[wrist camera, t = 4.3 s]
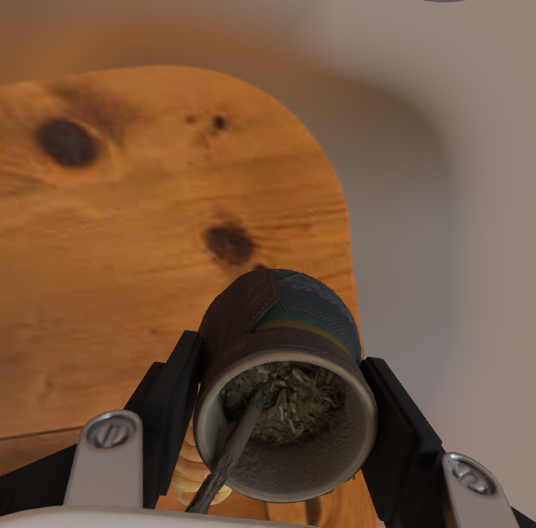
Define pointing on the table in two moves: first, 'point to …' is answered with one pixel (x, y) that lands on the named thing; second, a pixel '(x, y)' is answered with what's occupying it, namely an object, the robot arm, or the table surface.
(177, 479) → the pastry
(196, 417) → the mate gourd
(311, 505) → the table surface
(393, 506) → the robot arm
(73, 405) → the table surface
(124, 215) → the table surface
